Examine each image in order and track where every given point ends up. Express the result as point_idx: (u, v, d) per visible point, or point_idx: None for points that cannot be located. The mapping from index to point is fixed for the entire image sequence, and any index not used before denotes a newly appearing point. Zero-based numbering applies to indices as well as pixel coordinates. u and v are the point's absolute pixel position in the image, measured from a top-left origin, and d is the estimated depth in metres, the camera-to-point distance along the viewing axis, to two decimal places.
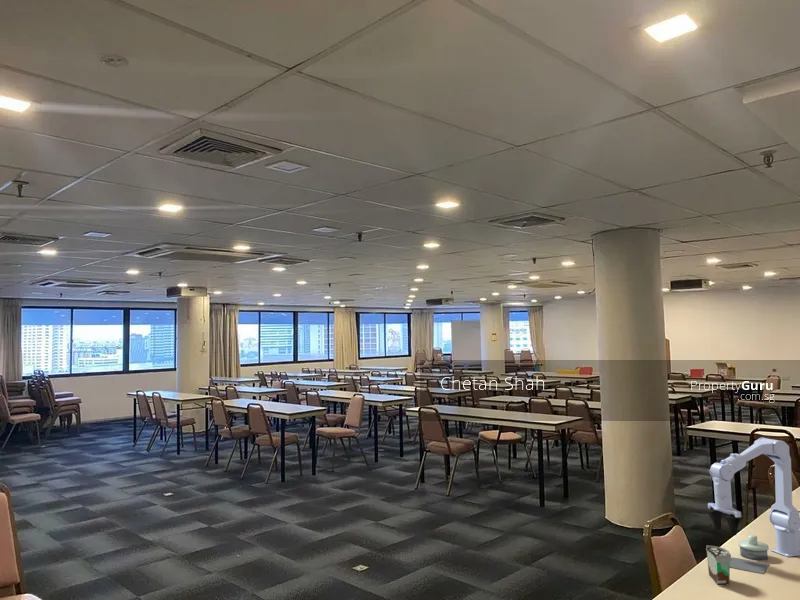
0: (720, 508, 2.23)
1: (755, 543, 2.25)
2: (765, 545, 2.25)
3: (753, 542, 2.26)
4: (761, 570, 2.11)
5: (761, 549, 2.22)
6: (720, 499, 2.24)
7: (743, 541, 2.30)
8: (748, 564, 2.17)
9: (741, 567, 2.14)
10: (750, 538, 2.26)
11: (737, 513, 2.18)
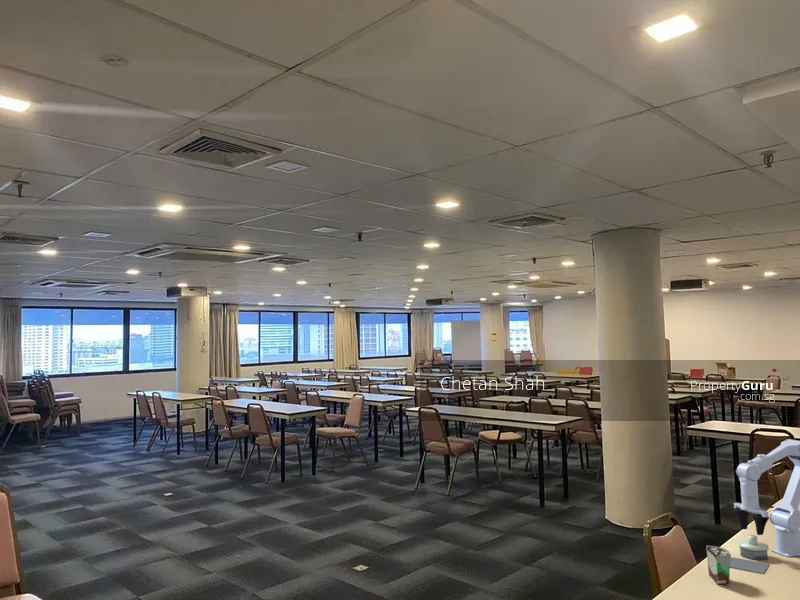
0: (747, 508, 2.26)
1: (755, 543, 2.25)
2: (765, 545, 2.25)
3: (753, 542, 2.26)
4: (761, 570, 2.11)
5: (761, 549, 2.22)
6: (747, 499, 2.27)
7: (743, 541, 2.30)
8: (748, 564, 2.17)
9: (741, 567, 2.14)
10: (750, 538, 2.26)
11: (764, 513, 2.21)
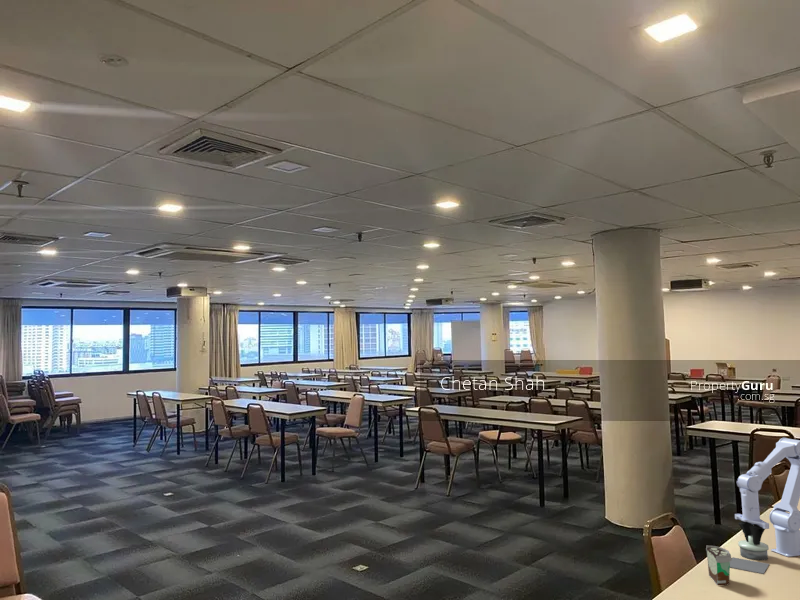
0: (748, 519, 2.26)
1: None
2: (765, 545, 2.25)
3: None
4: (761, 570, 2.11)
5: (761, 549, 2.22)
6: (748, 510, 2.26)
7: (743, 541, 2.30)
8: (748, 564, 2.17)
9: (741, 567, 2.14)
10: (750, 538, 2.26)
11: (765, 525, 2.21)
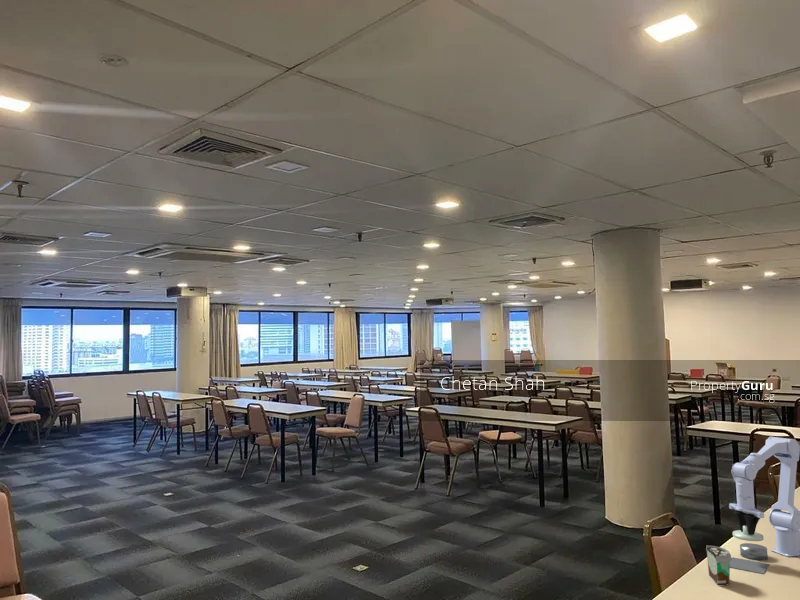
0: (742, 508, 2.20)
1: None
2: (760, 535, 2.19)
3: (747, 532, 2.20)
4: (761, 570, 2.11)
5: (756, 539, 2.16)
6: (742, 499, 2.21)
7: (737, 531, 2.25)
8: (748, 564, 2.17)
9: (741, 567, 2.14)
10: (745, 528, 2.21)
11: (760, 514, 2.15)
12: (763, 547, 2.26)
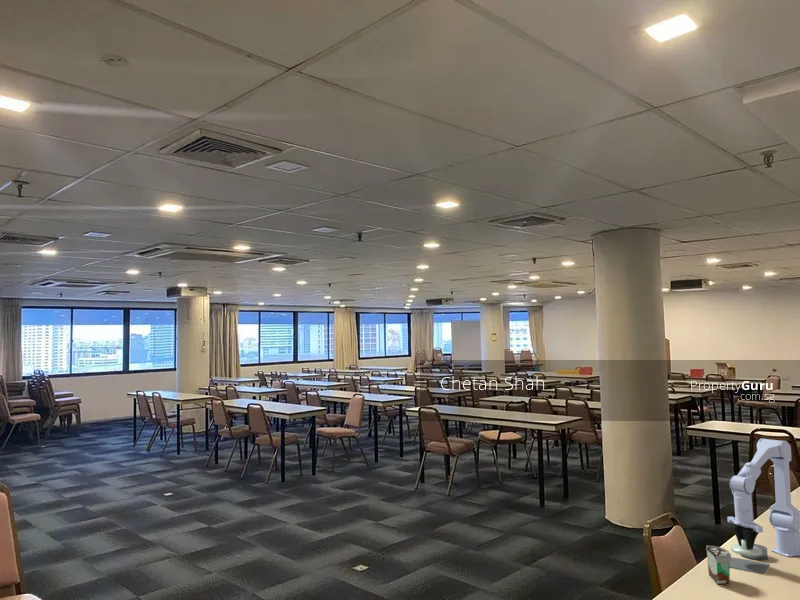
0: (741, 522, 2.16)
1: None
2: (758, 550, 2.15)
3: (746, 547, 2.16)
4: (761, 570, 2.11)
5: (755, 554, 2.12)
6: (741, 513, 2.16)
7: (736, 545, 2.20)
8: (748, 564, 2.17)
9: (741, 567, 2.14)
10: (743, 542, 2.17)
11: (759, 528, 2.11)
12: (763, 547, 2.26)
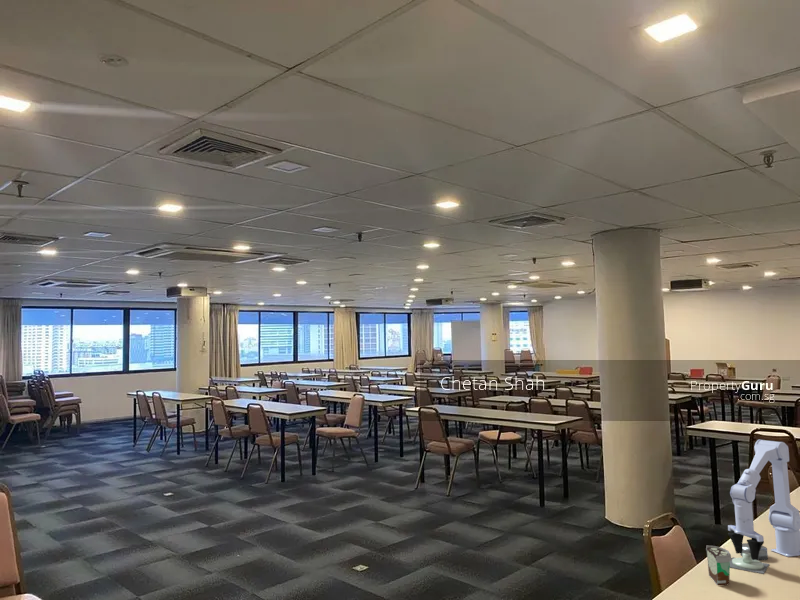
0: (741, 531, 2.16)
1: (750, 561, 2.15)
2: (760, 564, 2.15)
3: (747, 560, 2.15)
4: (761, 570, 2.11)
5: (756, 568, 2.12)
6: (741, 522, 2.16)
7: (737, 559, 2.20)
8: None
9: None
10: (745, 556, 2.16)
11: (759, 537, 2.11)
12: (763, 547, 2.26)
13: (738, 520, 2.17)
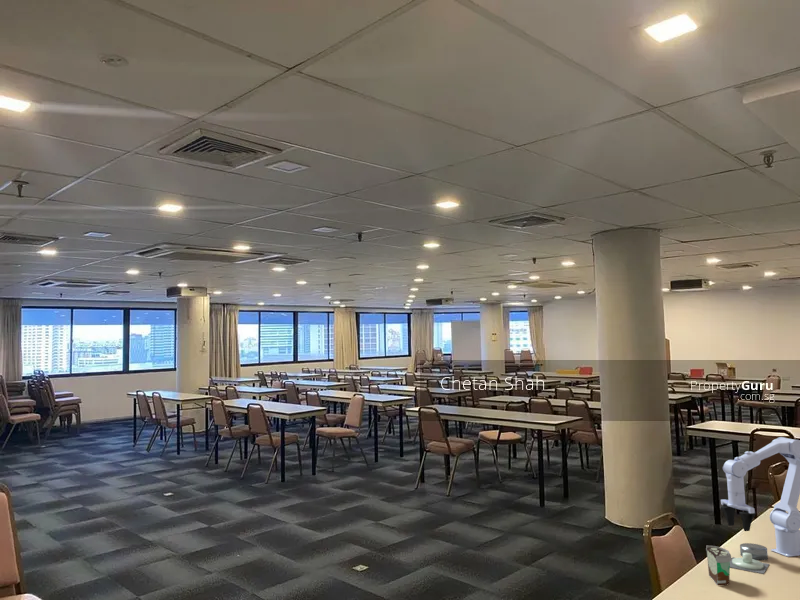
0: (734, 504, 2.28)
1: (750, 561, 2.15)
2: (760, 564, 2.15)
3: (747, 560, 2.15)
4: (761, 570, 2.11)
5: (756, 568, 2.12)
6: (734, 495, 2.28)
7: (737, 559, 2.20)
8: None
9: None
10: (745, 556, 2.16)
11: (751, 509, 2.22)
12: (763, 547, 2.26)
13: (730, 494, 2.29)
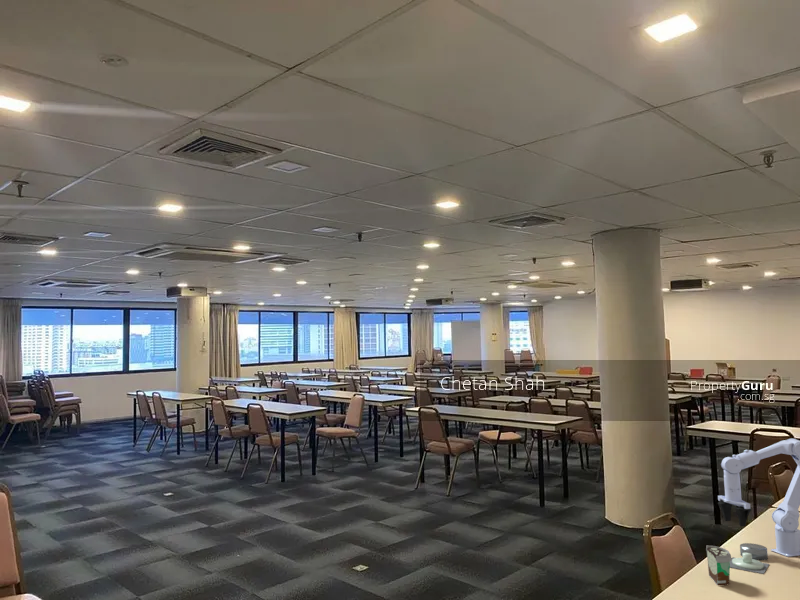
0: (730, 500, 2.34)
1: (750, 561, 2.15)
2: (760, 564, 2.14)
3: (747, 560, 2.15)
4: (761, 570, 2.11)
5: (756, 568, 2.12)
6: (730, 492, 2.34)
7: (737, 559, 2.20)
8: None
9: None
10: (744, 556, 2.16)
11: (746, 505, 2.28)
12: (763, 547, 2.26)
13: (727, 490, 2.35)
